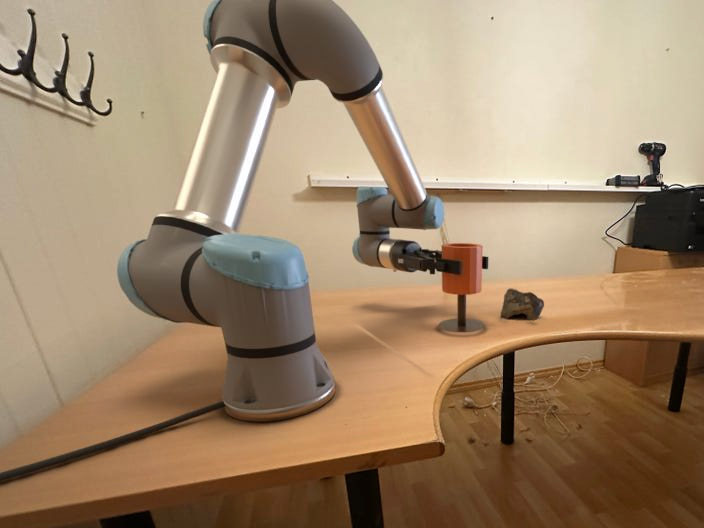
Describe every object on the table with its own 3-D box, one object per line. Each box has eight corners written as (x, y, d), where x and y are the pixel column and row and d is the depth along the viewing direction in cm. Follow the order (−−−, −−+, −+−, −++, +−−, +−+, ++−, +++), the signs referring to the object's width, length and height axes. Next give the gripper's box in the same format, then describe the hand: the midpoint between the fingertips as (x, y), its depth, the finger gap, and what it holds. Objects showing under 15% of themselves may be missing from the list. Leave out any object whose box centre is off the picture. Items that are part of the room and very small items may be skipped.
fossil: (541, 311, 108) (546, 282, 101) (541, 335, 103) (546, 306, 95) (501, 308, 109) (503, 279, 101) (499, 332, 103) (501, 303, 96)
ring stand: (454, 339, 88) (454, 298, 84) (429, 326, 96) (428, 289, 93) (494, 331, 94) (495, 293, 90) (467, 319, 102) (468, 284, 99)
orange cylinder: (456, 296, 86) (455, 248, 82) (435, 289, 92) (434, 244, 89) (488, 292, 90) (490, 246, 87) (467, 285, 97) (467, 242, 93)
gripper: (432, 266, 109) (501, 276, 97) (368, 276, 93) (441, 290, 80) (431, 237, 106) (502, 244, 94) (365, 242, 90) (441, 252, 78)
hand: (474, 265), depth 87 cm, fingers closed on orange cylinder, 9 cm apart
